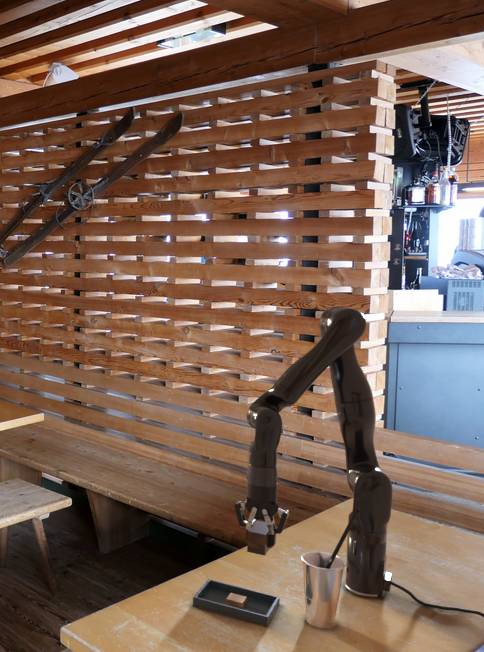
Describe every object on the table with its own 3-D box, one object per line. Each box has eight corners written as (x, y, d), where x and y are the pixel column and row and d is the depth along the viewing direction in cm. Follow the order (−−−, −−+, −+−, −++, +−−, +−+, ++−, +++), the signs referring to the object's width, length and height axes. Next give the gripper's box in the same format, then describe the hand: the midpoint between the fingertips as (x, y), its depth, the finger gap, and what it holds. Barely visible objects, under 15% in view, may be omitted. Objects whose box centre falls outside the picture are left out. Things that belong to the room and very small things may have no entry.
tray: (279, 605, 185) (279, 596, 185) (267, 626, 175) (267, 617, 175) (208, 587, 195) (208, 578, 195) (192, 606, 185) (193, 597, 185)
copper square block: (246, 602, 186) (246, 596, 186) (242, 609, 182) (242, 603, 182) (230, 598, 188) (230, 592, 188) (225, 605, 184) (226, 598, 184)
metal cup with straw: (354, 637, 171) (359, 510, 168) (302, 631, 173) (307, 506, 171) (343, 614, 181) (348, 495, 179) (294, 609, 183) (299, 491, 181)
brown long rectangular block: (273, 543, 196) (274, 523, 195) (264, 555, 188) (265, 534, 188) (256, 540, 198) (256, 520, 198) (247, 551, 191) (247, 531, 190)
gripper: (294, 481, 191) (292, 546, 193) (238, 472, 199) (237, 534, 200) (287, 489, 185) (285, 556, 186) (230, 480, 193) (229, 543, 194)
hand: (260, 544), depth 193 cm, fingers closed on brown long rectangular block, 4 cm apart
